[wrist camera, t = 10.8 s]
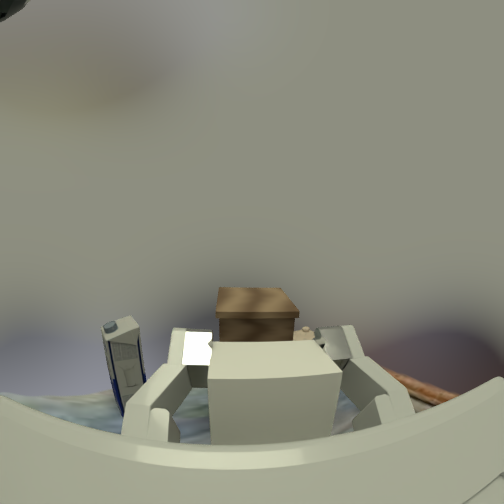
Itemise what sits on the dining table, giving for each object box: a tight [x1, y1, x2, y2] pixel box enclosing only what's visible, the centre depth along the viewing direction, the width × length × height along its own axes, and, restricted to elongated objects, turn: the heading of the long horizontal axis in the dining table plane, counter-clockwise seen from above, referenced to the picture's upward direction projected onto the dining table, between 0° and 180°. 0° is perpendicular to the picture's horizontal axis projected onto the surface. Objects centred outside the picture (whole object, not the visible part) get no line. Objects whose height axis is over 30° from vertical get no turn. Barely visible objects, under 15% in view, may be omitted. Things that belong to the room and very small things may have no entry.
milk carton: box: [101, 316, 146, 417], centre depth 47 cm, size 7×7×20 cm
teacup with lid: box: [293, 327, 315, 341], centre depth 70 cm, size 12×9×12 cm
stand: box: [216, 287, 299, 342], centre depth 47 cm, size 12×15×26 cm
